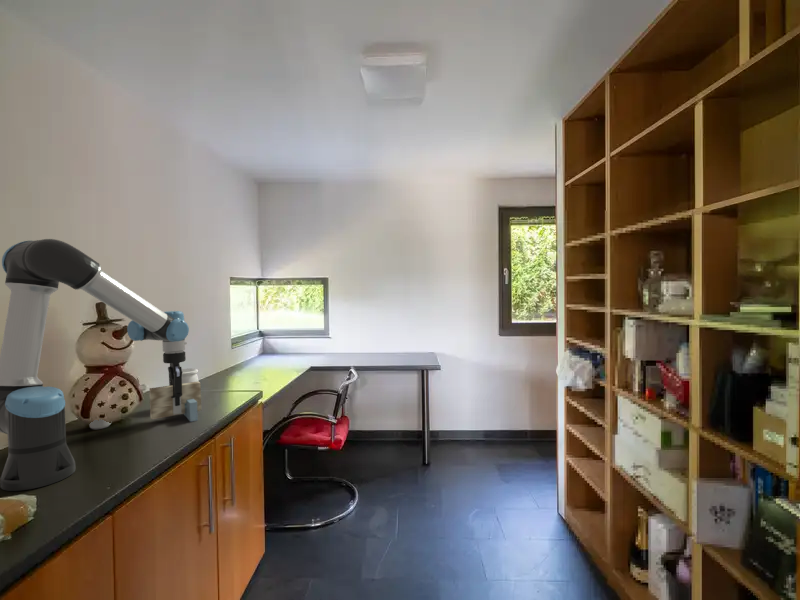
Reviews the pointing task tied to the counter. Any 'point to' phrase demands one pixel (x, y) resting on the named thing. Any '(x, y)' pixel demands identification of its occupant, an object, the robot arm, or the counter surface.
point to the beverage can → (99, 424)
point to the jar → (189, 375)
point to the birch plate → (164, 403)
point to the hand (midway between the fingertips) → (176, 412)
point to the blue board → (191, 410)
